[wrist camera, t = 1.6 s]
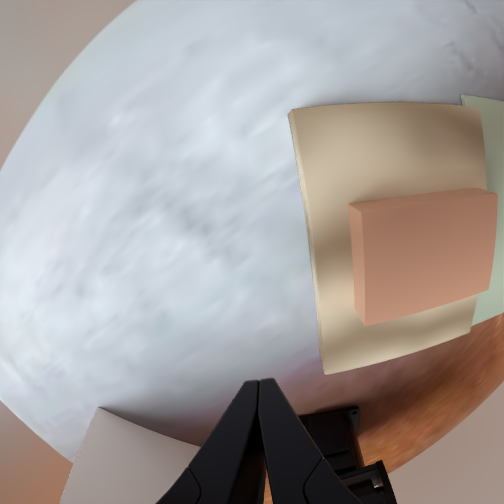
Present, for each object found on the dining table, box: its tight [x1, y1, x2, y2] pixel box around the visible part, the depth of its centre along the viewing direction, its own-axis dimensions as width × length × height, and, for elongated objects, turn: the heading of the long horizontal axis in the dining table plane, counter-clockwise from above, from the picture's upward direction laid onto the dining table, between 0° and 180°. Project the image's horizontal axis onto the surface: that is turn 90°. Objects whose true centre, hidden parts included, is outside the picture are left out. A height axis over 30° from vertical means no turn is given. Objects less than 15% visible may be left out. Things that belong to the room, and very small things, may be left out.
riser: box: [288, 102, 487, 375], centre depth 15 cm, size 16×12×2 cm
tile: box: [348, 188, 498, 326], centre depth 13 cm, size 6×9×2 cm, turn 101°
